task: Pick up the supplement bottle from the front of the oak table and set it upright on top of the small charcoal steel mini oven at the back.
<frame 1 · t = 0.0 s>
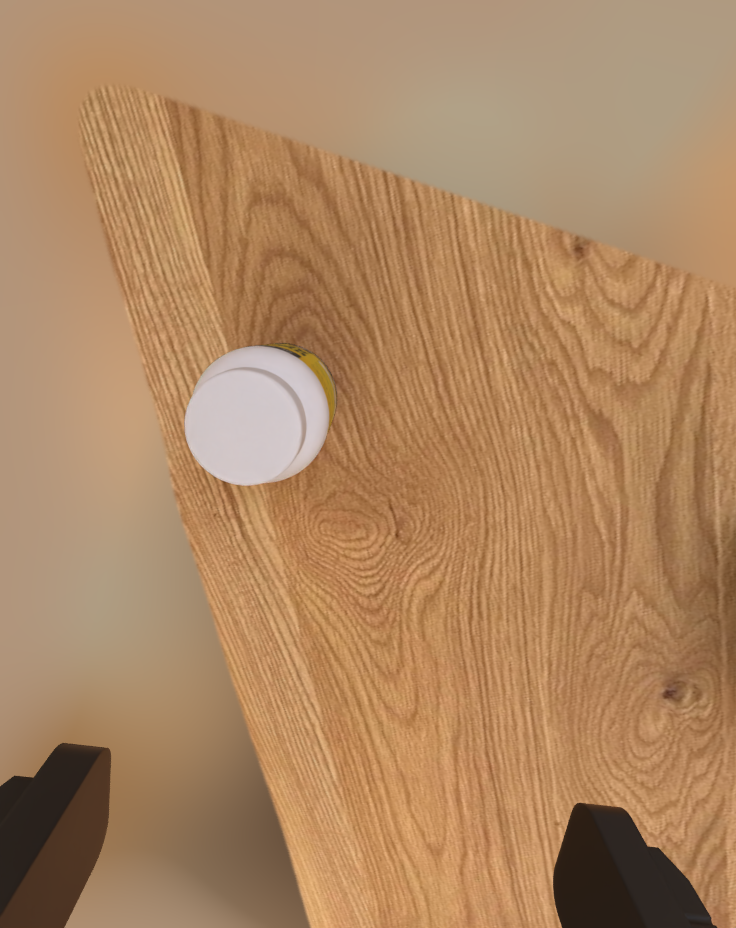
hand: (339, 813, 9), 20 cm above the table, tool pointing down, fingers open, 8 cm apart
supplement bottle: (285, 395, 27), on the table
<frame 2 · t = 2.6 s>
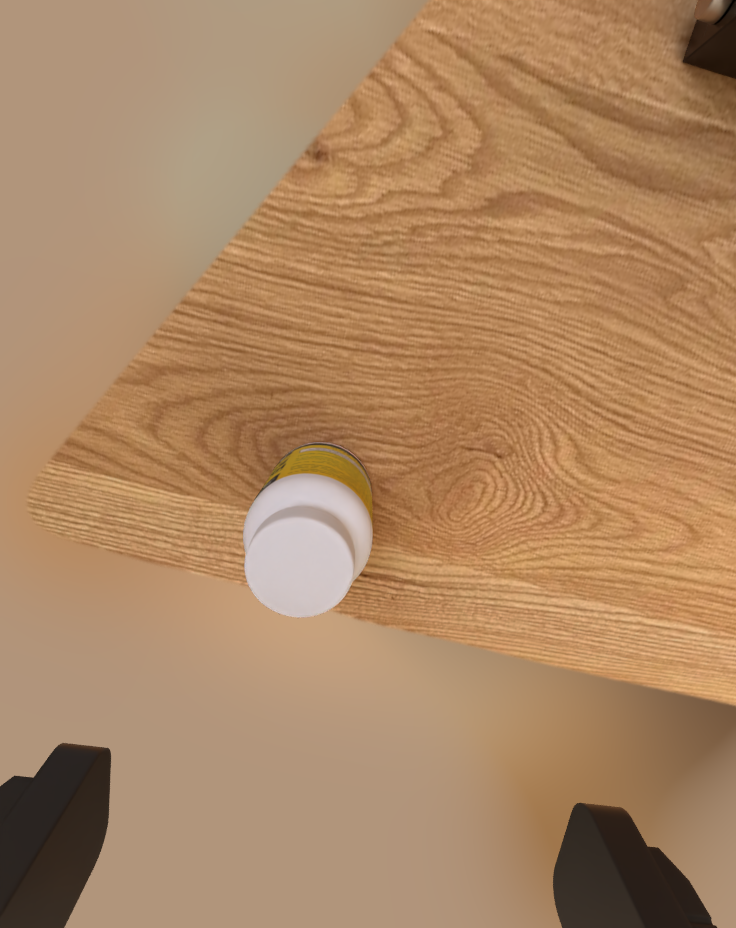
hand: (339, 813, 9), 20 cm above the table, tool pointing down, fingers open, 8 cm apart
supplement bottle: (321, 487, 29), on the table
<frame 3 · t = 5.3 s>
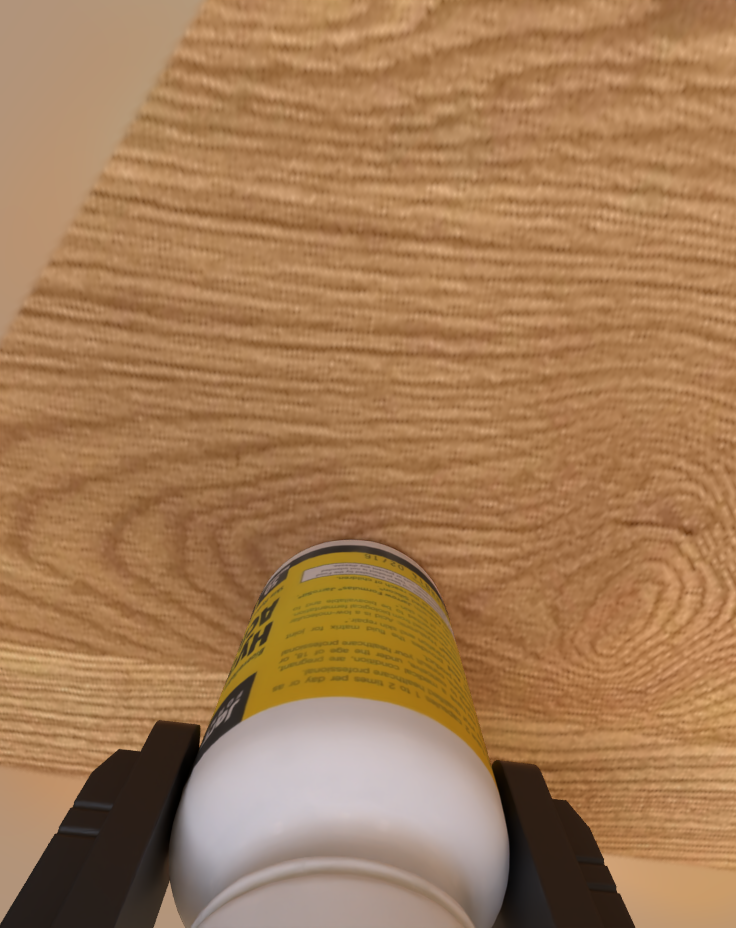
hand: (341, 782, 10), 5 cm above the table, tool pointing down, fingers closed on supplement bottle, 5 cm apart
supplement bottle: (349, 618, 15), on the table, touching gripper
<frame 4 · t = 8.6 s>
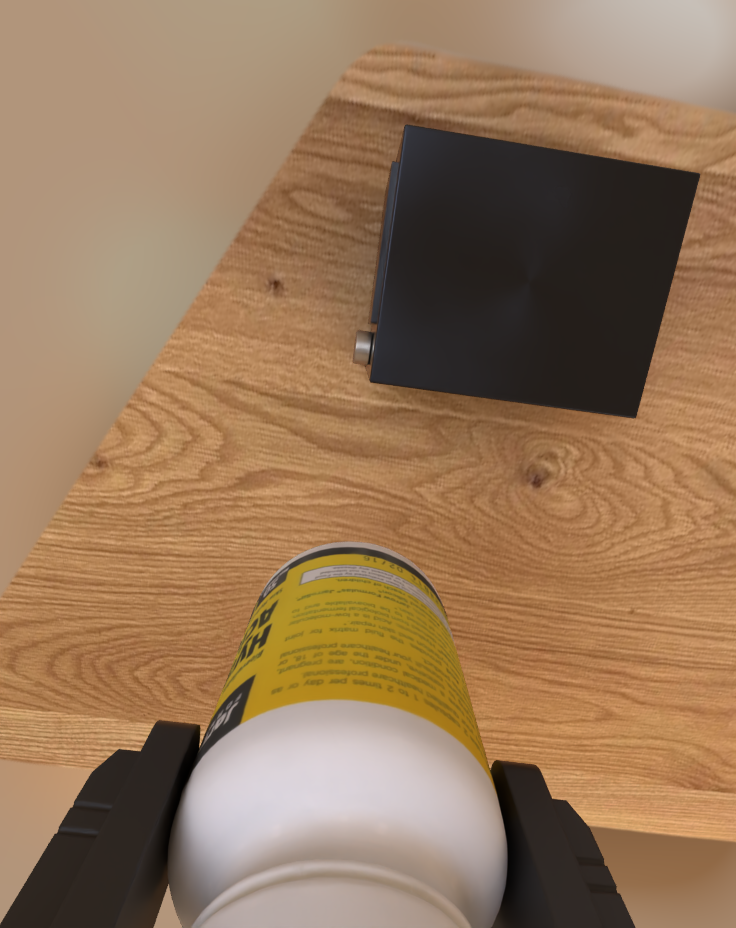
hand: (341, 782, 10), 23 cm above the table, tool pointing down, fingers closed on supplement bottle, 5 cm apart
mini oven: (483, 294, 30), on the table
supplement bottle: (349, 620, 15), point 17 cm above the table, touching gripper
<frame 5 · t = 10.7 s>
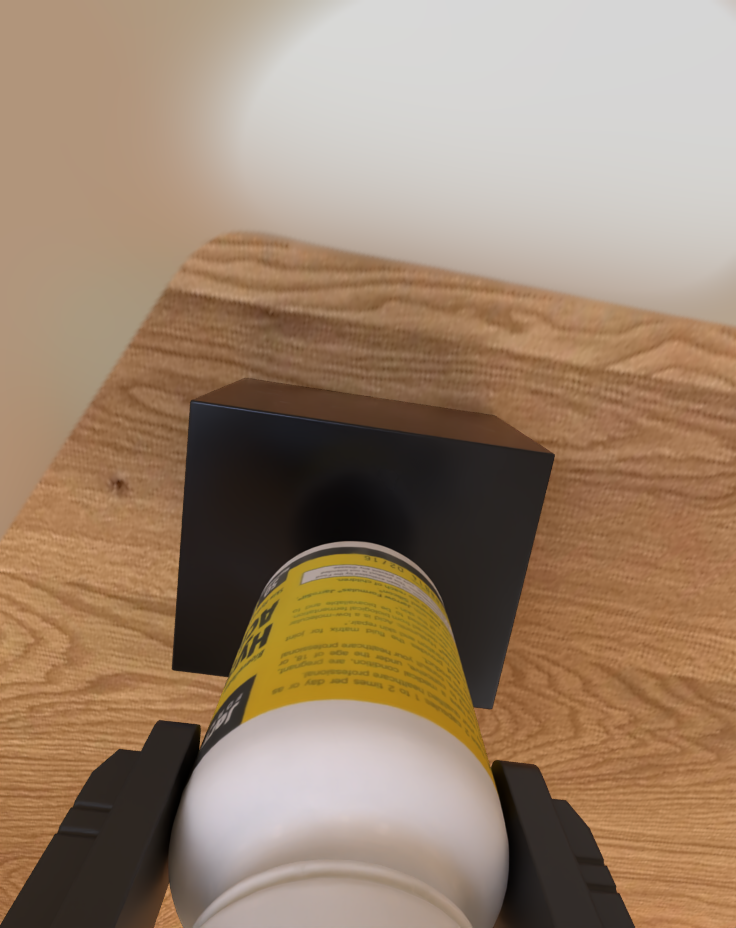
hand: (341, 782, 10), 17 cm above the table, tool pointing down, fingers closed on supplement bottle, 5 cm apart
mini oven: (356, 496, 26), on the table
supplement bottle: (349, 620, 15), point 11 cm above the table, touching gripper
when the fingers open (13 cm above the table, at t = 12.1 s): supplement bottle stays where it is, resting on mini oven.
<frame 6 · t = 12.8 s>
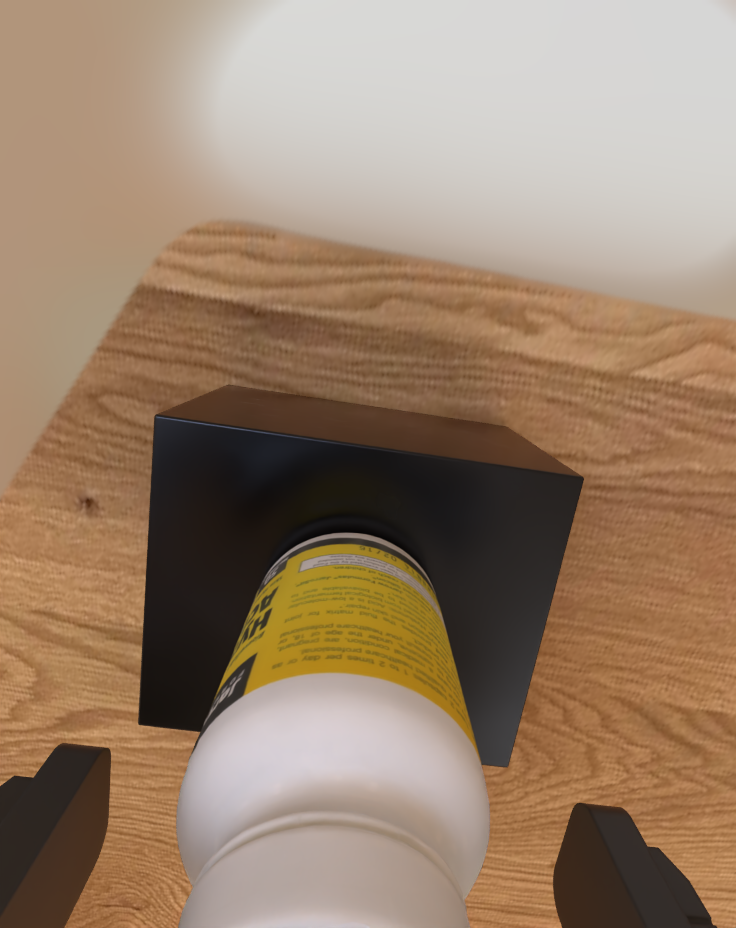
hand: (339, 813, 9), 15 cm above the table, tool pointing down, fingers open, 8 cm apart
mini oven: (352, 516, 23), on the table
supplement bottle: (346, 608, 16), point 8 cm above the table, touching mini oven
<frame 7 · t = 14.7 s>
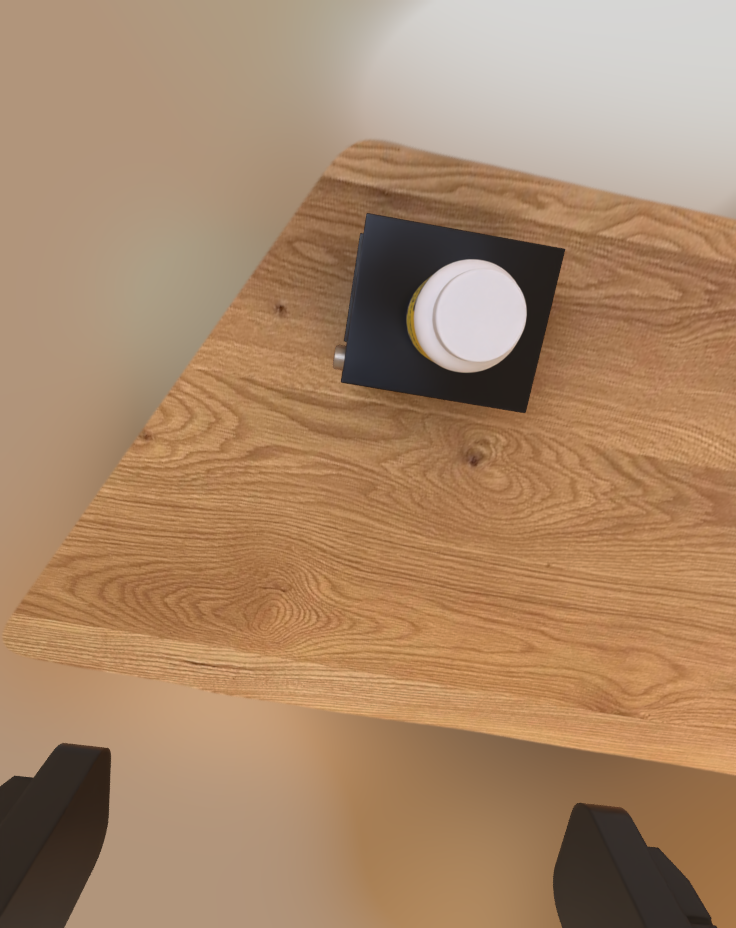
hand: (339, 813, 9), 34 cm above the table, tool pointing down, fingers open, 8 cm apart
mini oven: (433, 319, 40), on the table
supplement bottle: (448, 319, 32), point 8 cm above the table, touching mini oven
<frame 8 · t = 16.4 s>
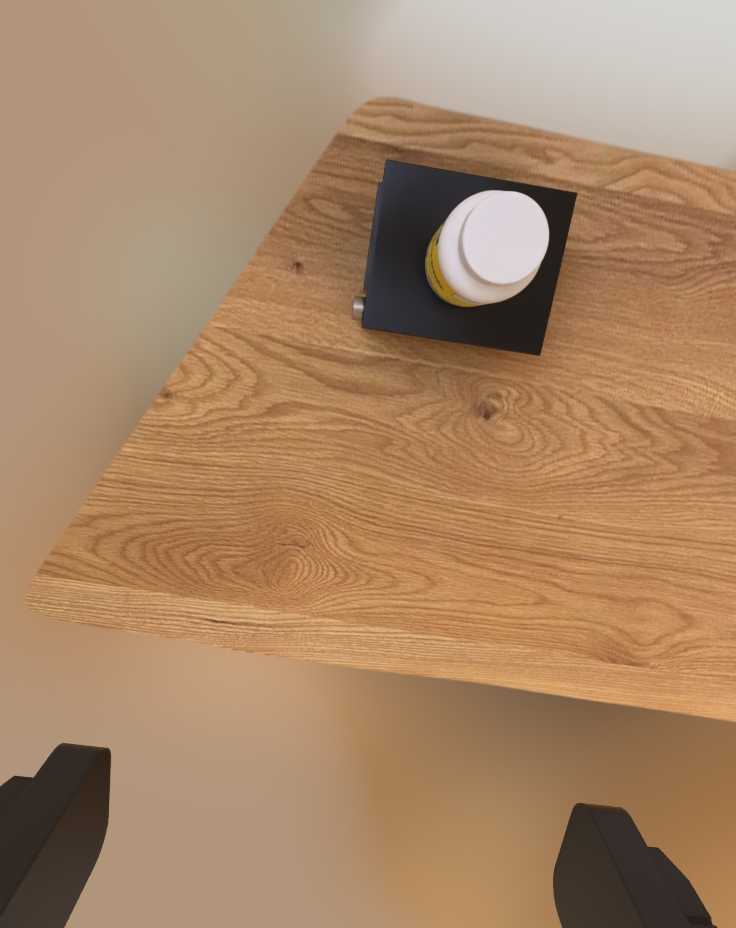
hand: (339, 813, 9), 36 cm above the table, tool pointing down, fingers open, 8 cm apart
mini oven: (446, 274, 41), on the table
supplement bottle: (465, 264, 34), point 8 cm above the table, touching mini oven
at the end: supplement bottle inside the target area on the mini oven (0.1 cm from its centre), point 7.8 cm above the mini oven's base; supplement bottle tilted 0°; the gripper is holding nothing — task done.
